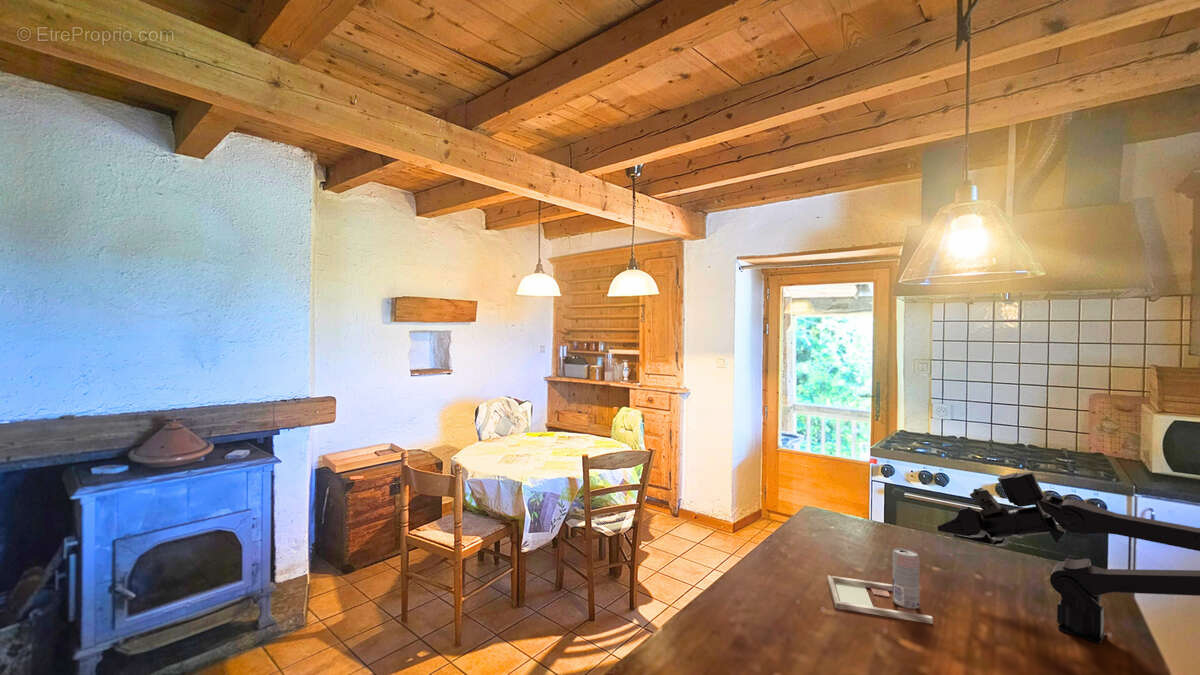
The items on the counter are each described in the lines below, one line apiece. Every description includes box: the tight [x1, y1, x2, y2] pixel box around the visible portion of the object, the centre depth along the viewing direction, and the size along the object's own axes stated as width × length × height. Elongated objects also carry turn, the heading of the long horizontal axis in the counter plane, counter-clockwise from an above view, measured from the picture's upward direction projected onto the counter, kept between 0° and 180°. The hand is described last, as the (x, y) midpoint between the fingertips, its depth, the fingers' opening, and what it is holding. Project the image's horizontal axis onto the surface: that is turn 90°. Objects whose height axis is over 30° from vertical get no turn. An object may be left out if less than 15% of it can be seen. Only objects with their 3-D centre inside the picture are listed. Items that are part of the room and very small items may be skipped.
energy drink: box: [892, 547, 920, 610], centre depth 117 cm, size 5×5×12 cm
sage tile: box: [834, 582, 874, 607], centre depth 120 cm, size 7×12×1 cm, turn 162°
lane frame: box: [827, 575, 934, 625], centre depth 118 cm, size 20×14×1 cm
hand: (946, 531), depth 124 cm, fingers open, 9 cm apart
